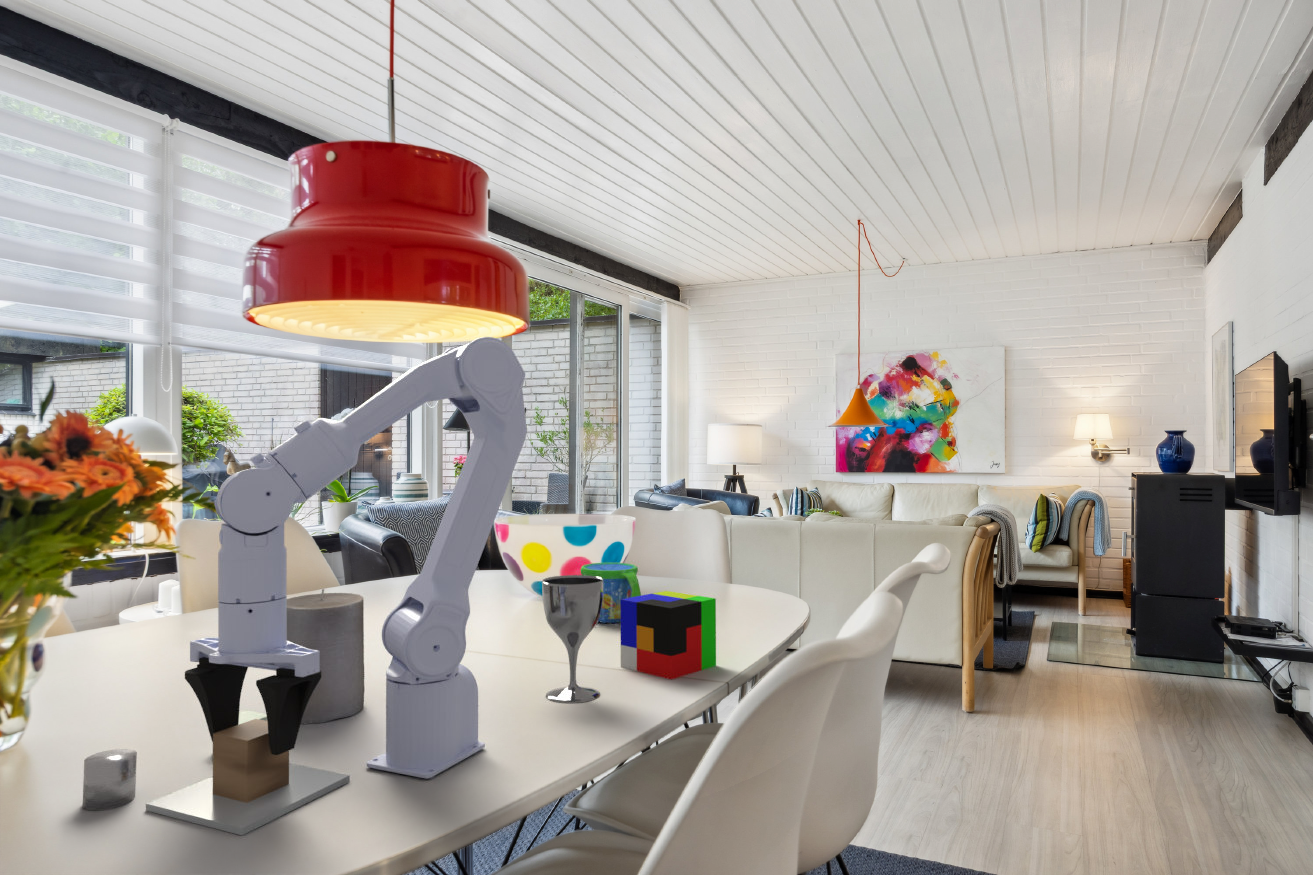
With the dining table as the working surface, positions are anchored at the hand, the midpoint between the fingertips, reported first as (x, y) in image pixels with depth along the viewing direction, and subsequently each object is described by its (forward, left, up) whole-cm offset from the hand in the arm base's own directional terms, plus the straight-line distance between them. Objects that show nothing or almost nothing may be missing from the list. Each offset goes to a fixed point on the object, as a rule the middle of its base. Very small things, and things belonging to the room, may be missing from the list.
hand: (253, 745), depth 76 cm
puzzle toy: (-57, +18, -5) cm, 60 cm away
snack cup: (-83, -5, -5) cm, 83 cm away
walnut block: (0, 0, -4) cm, 4 cm away
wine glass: (-39, +12, -5) cm, 41 cm away
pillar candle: (-21, -13, -5) cm, 25 cm away
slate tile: (0, 0, -5) cm, 5 cm away
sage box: (-8, -11, -5) cm, 14 cm away
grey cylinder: (+6, -11, -5) cm, 13 cm away
